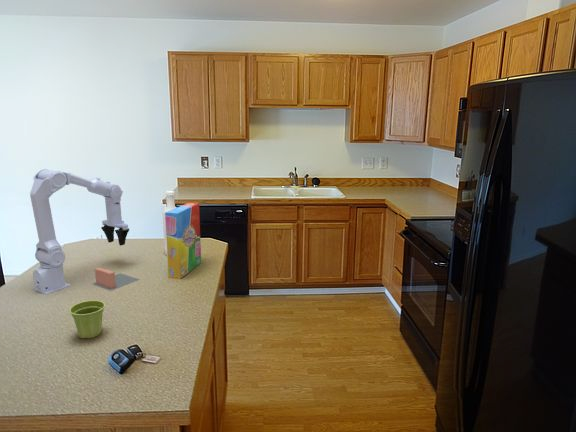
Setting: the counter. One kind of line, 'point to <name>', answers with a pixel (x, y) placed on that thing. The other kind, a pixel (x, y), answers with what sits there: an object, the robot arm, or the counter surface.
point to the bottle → (169, 207)
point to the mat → (119, 281)
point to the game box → (183, 239)
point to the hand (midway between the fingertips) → (116, 243)
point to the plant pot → (88, 317)
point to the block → (105, 278)
